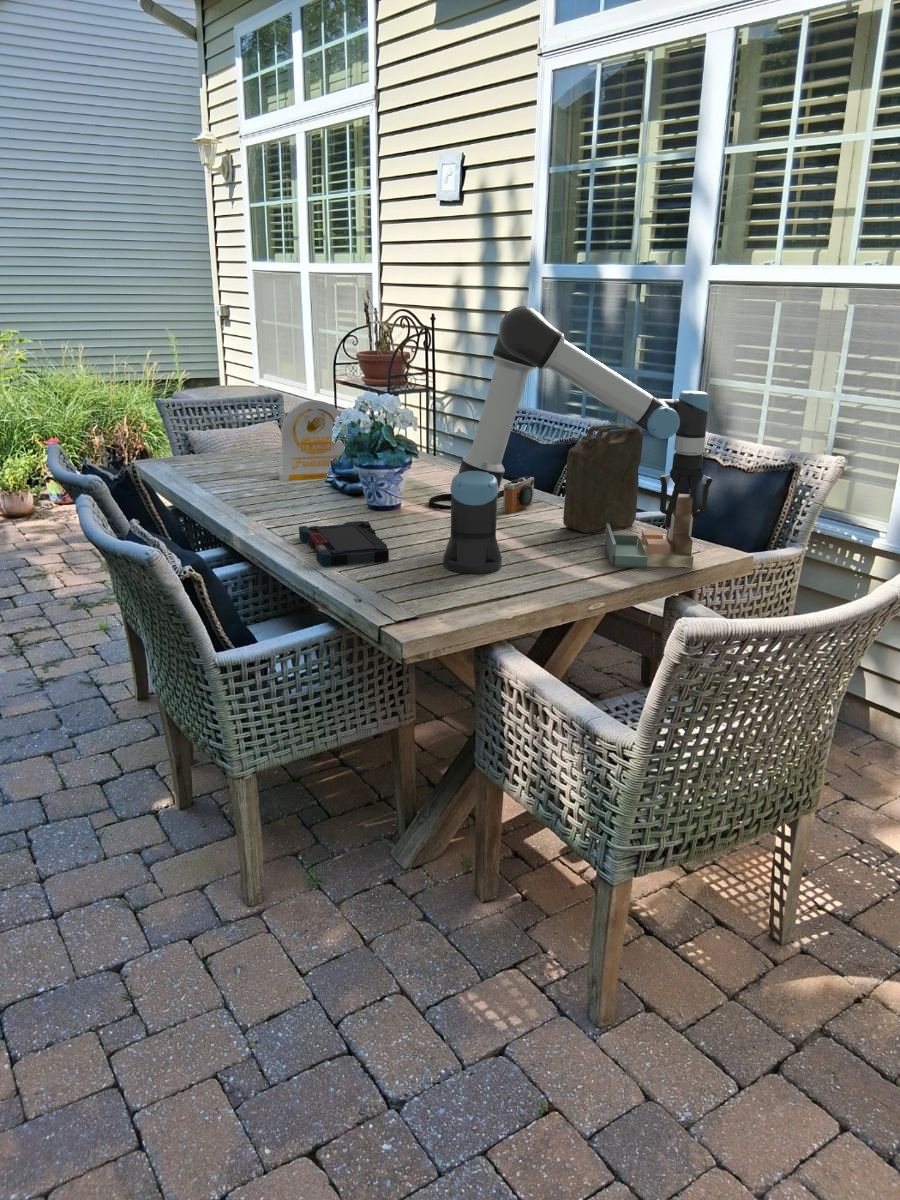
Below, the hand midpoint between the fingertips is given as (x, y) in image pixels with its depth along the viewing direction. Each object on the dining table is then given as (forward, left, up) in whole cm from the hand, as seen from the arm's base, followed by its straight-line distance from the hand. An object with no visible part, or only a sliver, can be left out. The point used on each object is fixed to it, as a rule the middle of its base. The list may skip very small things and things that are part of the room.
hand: (679, 539), depth 238 cm
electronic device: (-90, -3, -6) cm, 90 cm away
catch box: (-14, 0, -5) cm, 15 cm away
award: (-118, +87, -5) cm, 147 cm away
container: (-18, +30, -5) cm, 35 cm away
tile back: (-6, +5, -2) cm, 8 cm away
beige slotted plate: (-3, 0, -5) cm, 6 cm away
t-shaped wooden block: (0, 0, -2) cm, 2 cm away
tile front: (-6, -4, -2) cm, 8 cm away
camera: (-54, +53, -6) cm, 76 cm away
